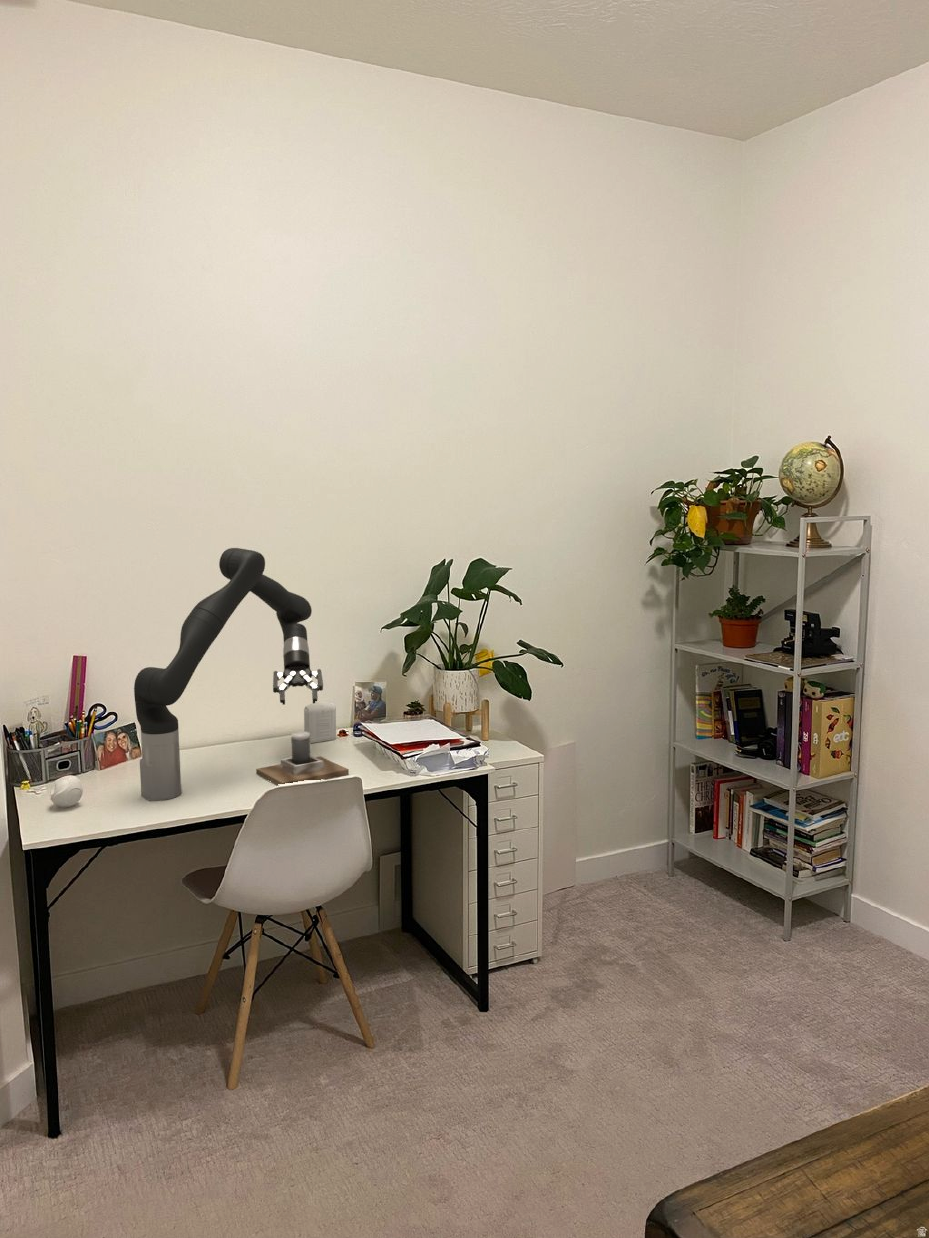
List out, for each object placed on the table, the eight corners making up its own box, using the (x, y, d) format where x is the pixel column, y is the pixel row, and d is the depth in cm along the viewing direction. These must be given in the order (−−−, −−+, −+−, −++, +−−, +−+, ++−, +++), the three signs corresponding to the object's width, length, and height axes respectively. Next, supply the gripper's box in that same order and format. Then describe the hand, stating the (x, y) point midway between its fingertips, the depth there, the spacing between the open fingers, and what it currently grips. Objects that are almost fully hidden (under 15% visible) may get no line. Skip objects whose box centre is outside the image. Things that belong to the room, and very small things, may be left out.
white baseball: (50, 803, 241) (48, 773, 240) (83, 799, 244) (81, 770, 243) (51, 813, 233) (49, 782, 232) (84, 809, 236) (82, 778, 235)
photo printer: (332, 736, 304) (331, 698, 302) (338, 739, 300) (337, 701, 298) (302, 741, 298) (301, 702, 296) (308, 744, 294) (307, 705, 293)
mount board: (282, 788, 252) (282, 773, 252) (256, 774, 265) (255, 760, 264) (348, 774, 264) (348, 760, 263) (320, 761, 277) (320, 747, 276)
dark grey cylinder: (297, 772, 261) (296, 737, 259) (289, 768, 265) (288, 733, 263) (313, 769, 264) (312, 734, 262) (305, 765, 268) (304, 730, 266)
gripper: (271, 649, 278) (273, 696, 269) (321, 647, 281) (324, 694, 272) (271, 664, 284) (273, 710, 275) (320, 662, 287) (323, 708, 278)
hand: (299, 702), depth 273 cm, fingers open, 8 cm apart
